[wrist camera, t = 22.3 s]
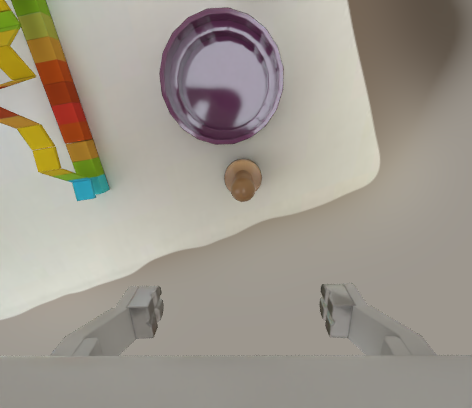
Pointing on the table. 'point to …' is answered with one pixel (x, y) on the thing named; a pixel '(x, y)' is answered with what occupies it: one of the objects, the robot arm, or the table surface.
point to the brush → (243, 179)
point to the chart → (59, 94)
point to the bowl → (221, 76)
